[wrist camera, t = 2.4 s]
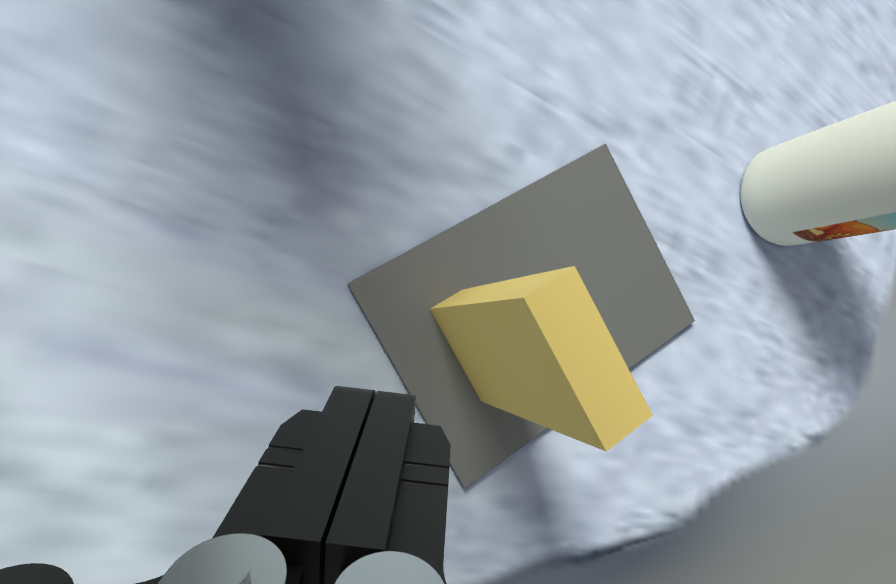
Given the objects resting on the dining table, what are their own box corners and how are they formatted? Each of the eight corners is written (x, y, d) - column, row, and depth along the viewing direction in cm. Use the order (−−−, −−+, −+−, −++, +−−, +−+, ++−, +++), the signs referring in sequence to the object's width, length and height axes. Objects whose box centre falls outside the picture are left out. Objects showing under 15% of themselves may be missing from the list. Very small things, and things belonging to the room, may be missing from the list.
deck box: (481, 401, 31) (606, 451, 19) (429, 309, 31) (524, 297, 18) (514, 379, 32) (655, 413, 20) (464, 288, 31) (577, 263, 19)
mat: (462, 486, 31) (464, 488, 31) (347, 284, 30) (348, 283, 29) (690, 320, 37) (694, 320, 36) (602, 145, 35) (605, 143, 35)
